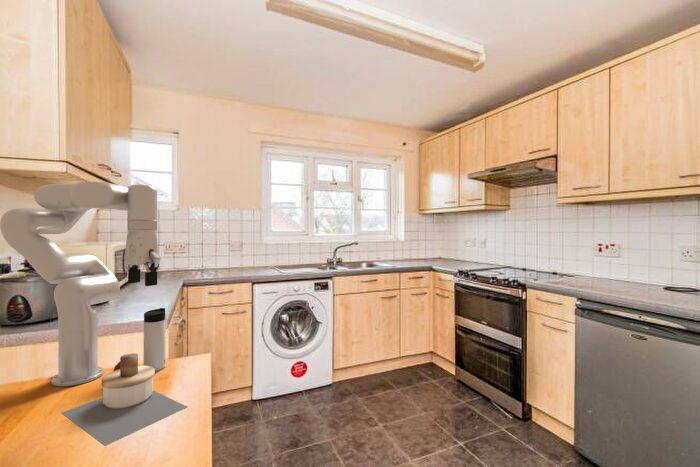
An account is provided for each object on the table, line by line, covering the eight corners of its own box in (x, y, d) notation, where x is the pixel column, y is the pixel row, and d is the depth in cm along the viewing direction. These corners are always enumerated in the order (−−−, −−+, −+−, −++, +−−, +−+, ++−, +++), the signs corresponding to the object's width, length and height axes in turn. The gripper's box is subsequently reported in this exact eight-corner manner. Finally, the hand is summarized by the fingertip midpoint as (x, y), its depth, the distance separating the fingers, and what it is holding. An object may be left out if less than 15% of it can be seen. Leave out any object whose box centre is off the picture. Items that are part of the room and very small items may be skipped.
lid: (93, 381, 88) (93, 358, 88) (141, 365, 99) (141, 345, 99) (114, 392, 82) (114, 368, 82) (163, 375, 92) (163, 353, 92)
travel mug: (170, 367, 112) (170, 308, 112) (153, 375, 106) (153, 313, 106) (156, 365, 114) (156, 307, 114) (138, 372, 108) (139, 311, 108)
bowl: (96, 401, 89) (96, 380, 89) (140, 385, 98) (140, 366, 98) (115, 413, 83) (116, 391, 83) (160, 395, 92) (160, 375, 92)
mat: (61, 415, 83) (61, 412, 83) (140, 386, 99) (140, 384, 99) (105, 448, 70) (105, 445, 70) (187, 409, 86) (187, 406, 86)
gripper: (114, 226, 101) (114, 283, 101) (144, 226, 91) (144, 288, 91) (141, 227, 107) (140, 280, 107) (171, 226, 98) (171, 285, 98)
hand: (142, 284), depth 99 cm, fingers open, 9 cm apart
